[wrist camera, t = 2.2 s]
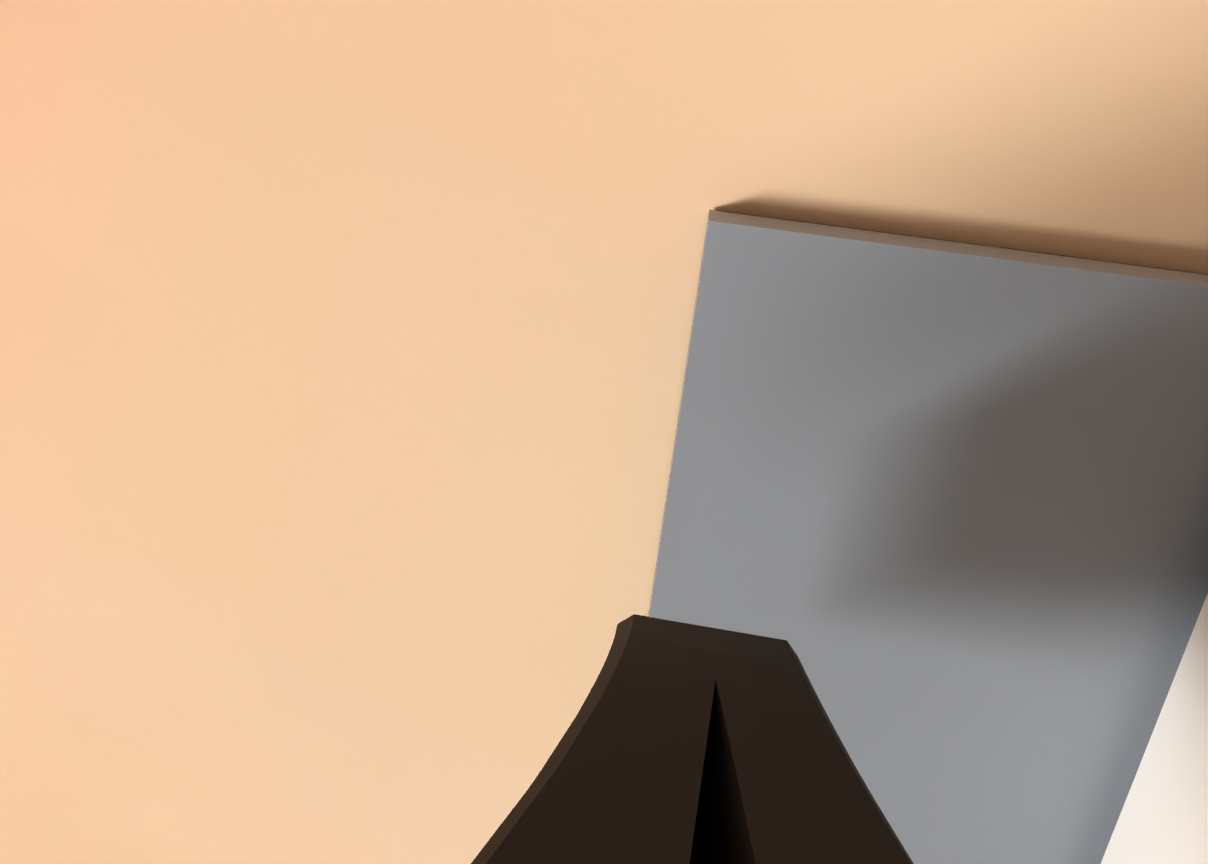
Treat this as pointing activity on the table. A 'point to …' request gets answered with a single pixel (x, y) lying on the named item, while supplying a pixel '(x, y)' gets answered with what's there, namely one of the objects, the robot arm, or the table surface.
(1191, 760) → the fence gate
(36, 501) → the table surface
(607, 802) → the robot arm
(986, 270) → the card
